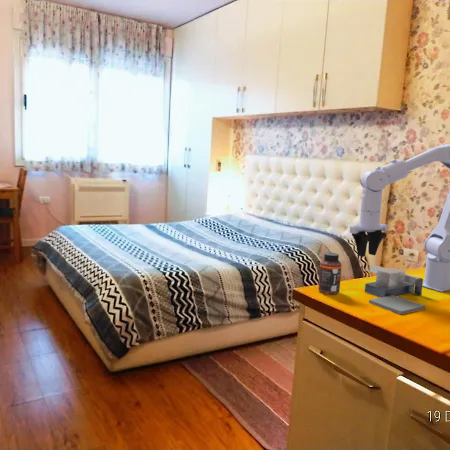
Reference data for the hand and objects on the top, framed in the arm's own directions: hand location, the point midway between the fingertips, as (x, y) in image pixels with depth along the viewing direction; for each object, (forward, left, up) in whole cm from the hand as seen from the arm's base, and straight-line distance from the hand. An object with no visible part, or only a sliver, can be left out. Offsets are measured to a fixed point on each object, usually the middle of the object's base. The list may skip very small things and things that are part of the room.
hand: (366, 255), depth 135 cm
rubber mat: (+8, +18, -9) cm, 21 cm away
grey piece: (-1, +8, -9) cm, 13 cm away
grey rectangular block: (-1, +8, -7) cm, 11 cm away
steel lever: (-6, +6, -9) cm, 13 cm away
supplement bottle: (+16, 0, -10) cm, 18 cm away
